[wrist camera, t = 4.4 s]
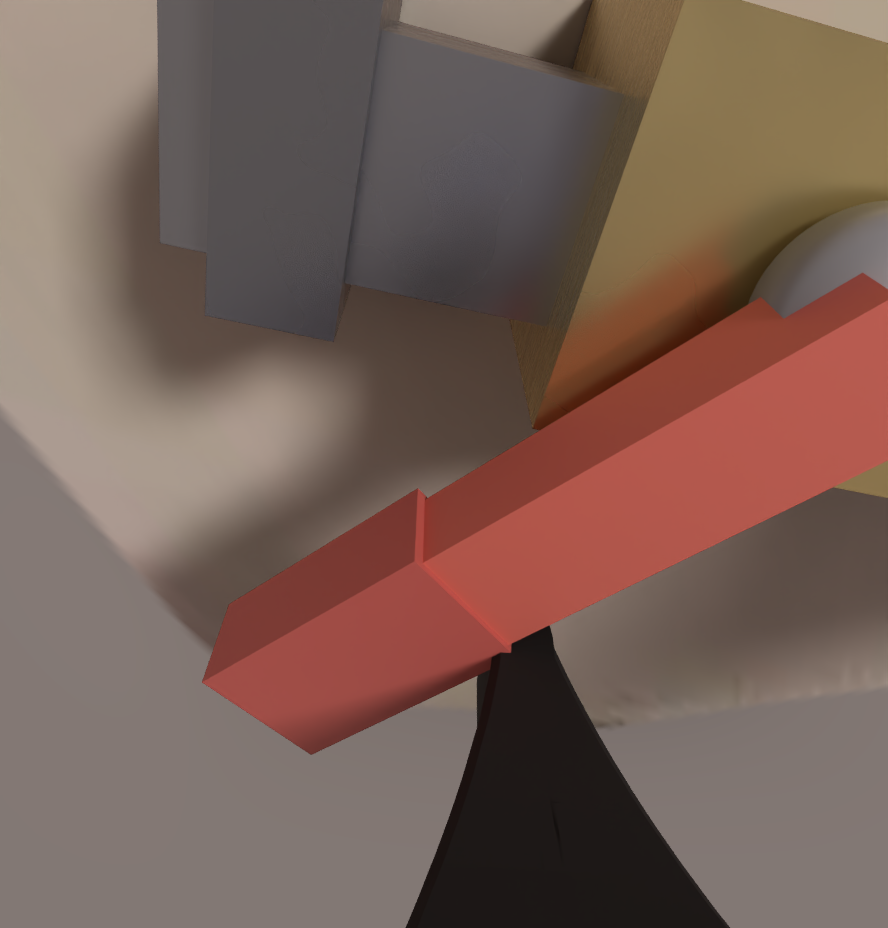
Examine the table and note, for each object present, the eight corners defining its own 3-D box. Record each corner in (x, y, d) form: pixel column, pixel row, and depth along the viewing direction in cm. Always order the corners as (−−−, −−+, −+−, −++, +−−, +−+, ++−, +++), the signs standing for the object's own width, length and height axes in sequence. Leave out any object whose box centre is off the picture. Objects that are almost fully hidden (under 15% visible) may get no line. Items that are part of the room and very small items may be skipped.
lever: (933, 149, 7) (1046, 184, 5) (991, 330, 8) (1094, 393, 7) (223, 593, 10) (193, 677, 9) (331, 675, 11) (318, 759, 10)
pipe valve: (1224, 168, 11) (1635, 260, 7) (1022, 413, 14) (1246, 574, 10) (245, -112, 9) (102, -189, 5) (228, 239, 12) (125, 357, 8)
